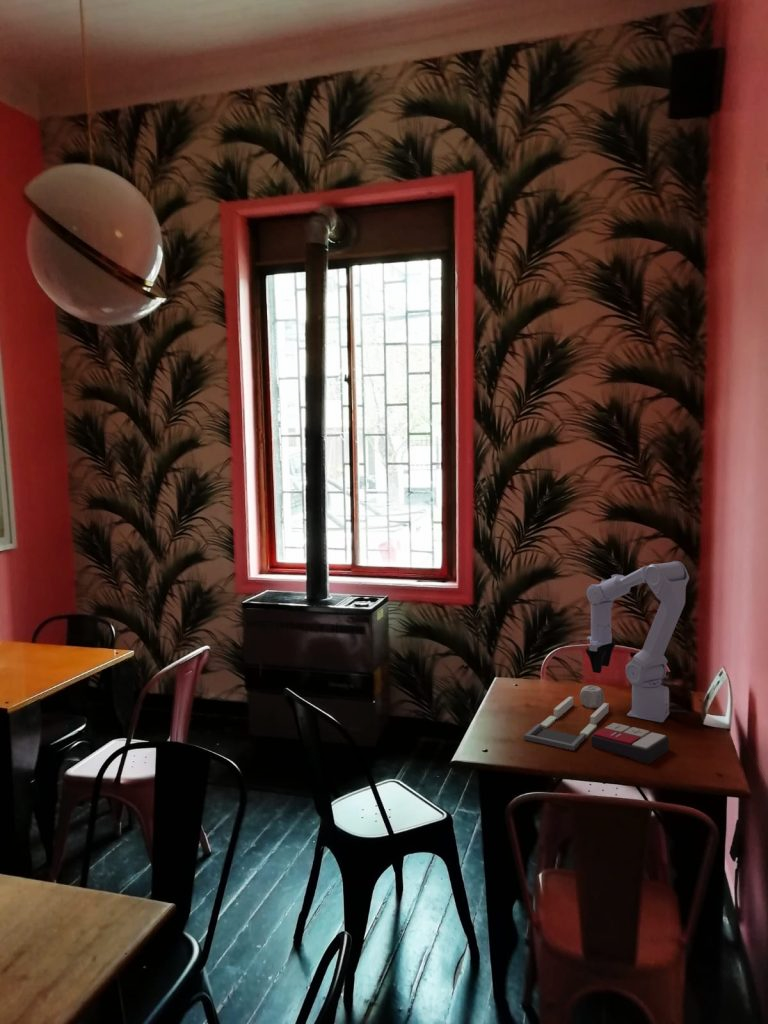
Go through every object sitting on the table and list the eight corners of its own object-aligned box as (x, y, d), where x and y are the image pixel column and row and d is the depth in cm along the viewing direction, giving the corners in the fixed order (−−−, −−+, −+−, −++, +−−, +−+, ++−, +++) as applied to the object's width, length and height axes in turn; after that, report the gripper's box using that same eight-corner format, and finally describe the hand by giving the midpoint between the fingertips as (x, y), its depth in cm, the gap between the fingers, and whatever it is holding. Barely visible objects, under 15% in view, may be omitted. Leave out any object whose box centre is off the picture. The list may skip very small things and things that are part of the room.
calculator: (612, 720, 185) (668, 733, 174) (613, 736, 185) (669, 750, 174) (590, 732, 177) (647, 747, 166) (590, 749, 178) (648, 765, 166)
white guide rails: (608, 711, 200) (608, 703, 199) (594, 725, 190) (594, 717, 190) (569, 704, 206) (569, 696, 206) (553, 717, 196) (553, 709, 196)
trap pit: (586, 738, 182) (586, 733, 182) (573, 750, 175) (573, 746, 175) (538, 727, 189) (538, 723, 189) (524, 739, 182) (524, 735, 182)
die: (579, 705, 206) (579, 688, 205) (589, 700, 209) (589, 684, 208) (595, 709, 202) (595, 692, 201) (604, 705, 205) (604, 688, 205)
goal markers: (596, 727, 189) (596, 724, 189) (587, 736, 183) (587, 734, 183) (550, 717, 196) (550, 715, 196) (539, 726, 190) (539, 724, 190)
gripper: (595, 617, 218) (595, 660, 219) (579, 627, 206) (579, 673, 208) (618, 620, 214) (618, 664, 215) (603, 630, 202) (603, 677, 204)
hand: (600, 669), depth 211 cm, fingers open, 7 cm apart
